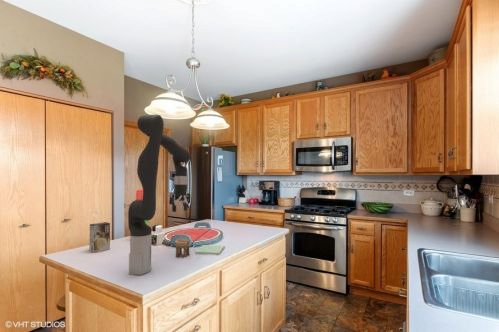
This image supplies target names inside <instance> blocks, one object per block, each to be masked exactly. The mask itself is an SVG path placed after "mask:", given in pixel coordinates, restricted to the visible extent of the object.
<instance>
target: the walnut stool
mask: <svg viewBox="0 0 499 332" xmlns="http://www.w3.org/2000/svg"><path fill="white" fill-rule="evenodd" d="M190 243H191V240H189V239H179V240H177V241H176V242H175V243H174V244H175V258H179V257H180V256H182V255H183V257H186V258H187V256H189V255H190V246H191V244H190Z"/></svg>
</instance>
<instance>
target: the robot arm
mask: <svg viewBox="0 0 499 332" xmlns="http://www.w3.org/2000/svg"><path fill="white" fill-rule="evenodd" d="M164 123H165V122H164V119H163V117H162V116H161V114H145V115H140V116H139V117H138V119H137V128H138V129H139V132H141V133H142V134H144V135H146V136H147V137H149V138H148V142H147V144H146V145H145V147H144V148H143V150H142V151H141V152H140V154H139V157H138V161H137V168H136V172H137V173H136V174H137V177H138V180H139V182H140V185H141V187H142V188H141V189H142V190H143V200H136V199H135V200H133V201H132V202H130V204H129V205H128V210H127V216H128V217H127V218H128V220H127V221H128V222H127V223H128V230H129V233H130V236H129V237H130V238H129V240H130V241H129V244H130V245H129V254H128V256H129V257H128V275H130V276H131V275H133V276H134V275H135V276H142V275H145V274H148V273H149V272H151V270H152V245H151V237H152V233H153V232H152V227H151V226H150V225H149V224H148V225H147V224H146V223H145V220H148V221H150V220H152V219H153V218H154V216H155V215H156V210H157V193H156V192H157V182H158V181H157V180H158V179H157V178H158V171H159V158H160V148H161V147H163V148H164V149H165V150H166V151H167V152H168V153H169V154H170V155H172V161H173V162H172V163H173V165H174V182H173V183H174V184H173V185H174V187H173V191H174V193H170V194H169V200H168V201H169V202H168V203H169V205H171V210H172V211H171V212H173V213H176V212H177V204H178V203H179V202H183V211H184V212H185V211H186V212H187V211H188V209H189V208H188V206H189V205H188V204H191V193H189V192H188V193H187V191H188V168H187V167H186V166H183V165H182V163H189V161H190V160H191V157H192V156H191V152H189V150H188V149H186V148H185V147H183V146H181V145H180V144H179V143H178V142H177V141H176V140H175V139H173V138H172V137H170V136H169V135H167V134H166V133H164Z"/></svg>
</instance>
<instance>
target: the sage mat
mask: <svg viewBox="0 0 499 332" xmlns="http://www.w3.org/2000/svg"><path fill="white" fill-rule="evenodd" d="M225 248H226V247H225V245H212V244H209V245H208V244H202V245H201V246H200V247H199V248H198V249H197V250H196V251H195V254H194V255H208V254H215V255H216V256H219V254H220V255H221V253H222V252H223V251H222V250H225ZM215 255H214V256H215Z"/></svg>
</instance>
